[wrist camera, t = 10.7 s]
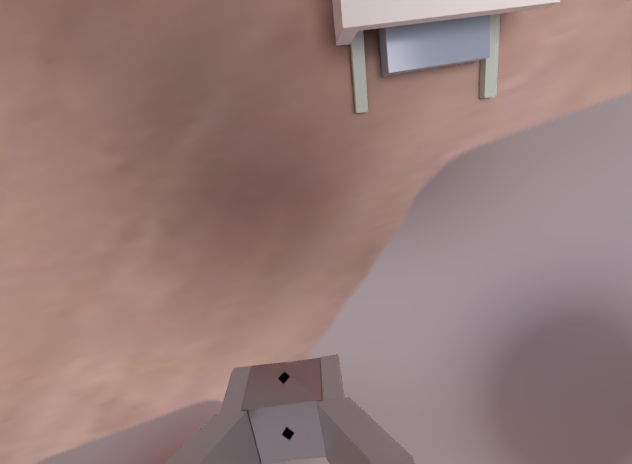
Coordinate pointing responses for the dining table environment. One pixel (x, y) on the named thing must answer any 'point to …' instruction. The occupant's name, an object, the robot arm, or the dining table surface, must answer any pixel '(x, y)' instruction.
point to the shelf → (412, 8)
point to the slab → (434, 44)
